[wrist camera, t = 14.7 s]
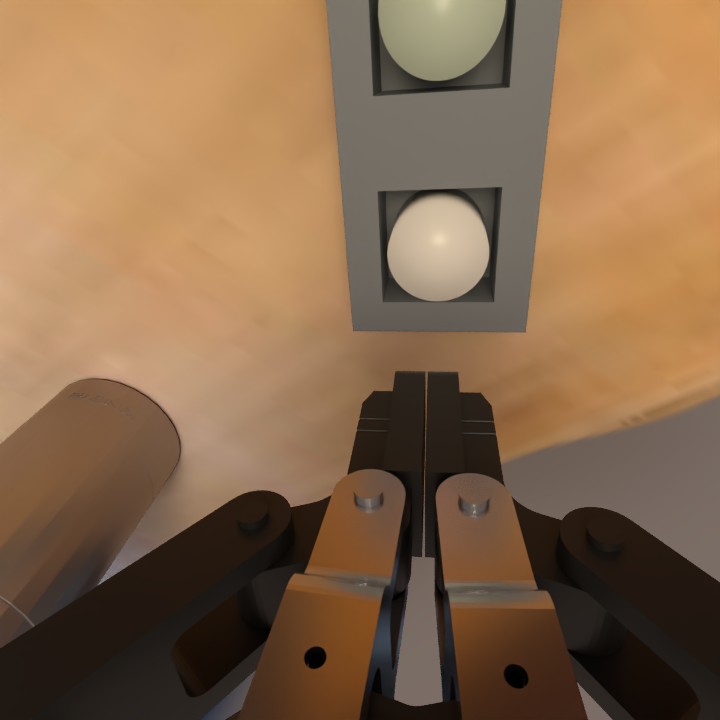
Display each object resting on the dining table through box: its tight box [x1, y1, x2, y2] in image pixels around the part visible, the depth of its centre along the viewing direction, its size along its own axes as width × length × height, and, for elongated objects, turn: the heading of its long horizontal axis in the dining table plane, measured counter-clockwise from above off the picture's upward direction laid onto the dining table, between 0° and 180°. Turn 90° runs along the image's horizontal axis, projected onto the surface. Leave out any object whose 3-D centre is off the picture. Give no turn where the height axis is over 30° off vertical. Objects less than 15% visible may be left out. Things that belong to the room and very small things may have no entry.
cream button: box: [387, 189, 489, 301], centre depth 23 cm, size 4×4×3 cm
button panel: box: [326, 0, 562, 332], centre depth 19 cm, size 25×8×4 cm, turn 3°
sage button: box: [378, 0, 506, 81], centre depth 18 cm, size 4×4×3 cm
